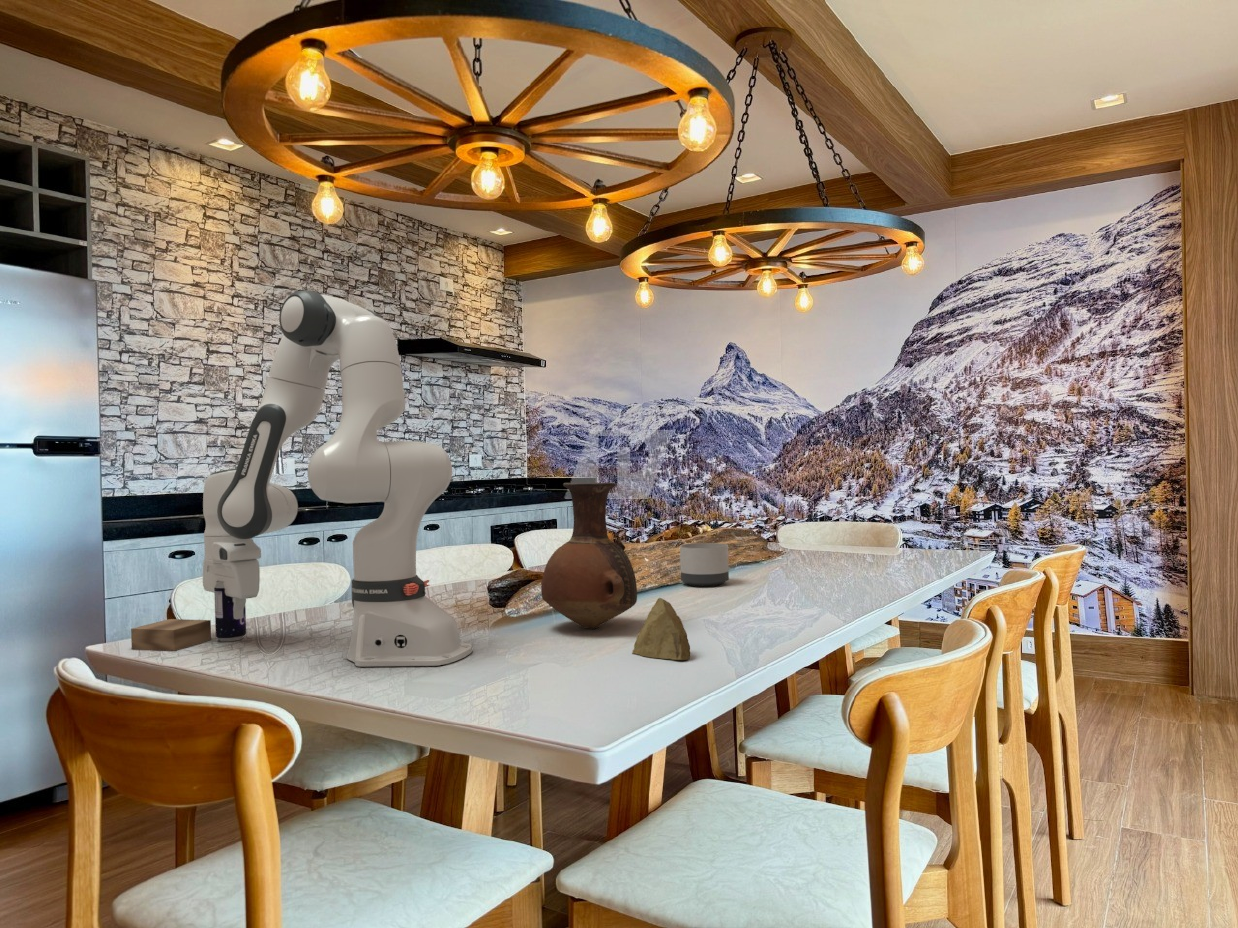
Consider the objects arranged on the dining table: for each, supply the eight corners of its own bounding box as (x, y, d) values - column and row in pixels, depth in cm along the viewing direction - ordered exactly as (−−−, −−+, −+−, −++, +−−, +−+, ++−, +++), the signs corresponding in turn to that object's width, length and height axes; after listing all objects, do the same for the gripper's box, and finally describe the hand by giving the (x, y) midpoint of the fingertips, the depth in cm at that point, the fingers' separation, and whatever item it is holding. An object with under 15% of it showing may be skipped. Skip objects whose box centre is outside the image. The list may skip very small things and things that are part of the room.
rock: (708, 646, 149) (688, 628, 159) (680, 610, 147) (662, 593, 156) (659, 687, 148) (642, 666, 157) (630, 651, 145) (615, 632, 155)
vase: (665, 629, 175) (661, 480, 175) (582, 644, 164) (577, 485, 164) (597, 613, 196) (593, 479, 195) (518, 625, 184) (514, 483, 184)
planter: (678, 588, 229) (677, 548, 229) (683, 580, 242) (682, 543, 241) (727, 588, 227) (726, 547, 227) (729, 580, 239) (728, 542, 239)
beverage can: (234, 642, 174) (232, 582, 174) (209, 642, 175) (207, 582, 175) (252, 636, 180) (250, 578, 180) (227, 636, 181) (225, 578, 181)
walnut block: (211, 639, 178) (210, 620, 177) (174, 650, 168) (173, 630, 168) (170, 638, 180) (169, 618, 180) (131, 649, 170) (131, 628, 170)
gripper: (193, 547, 182) (195, 613, 182) (232, 553, 168) (234, 624, 168) (224, 544, 187) (226, 608, 187) (264, 550, 172) (267, 619, 173)
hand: (230, 616), depth 177 cm, fingers closed on beverage can, 6 cm apart
